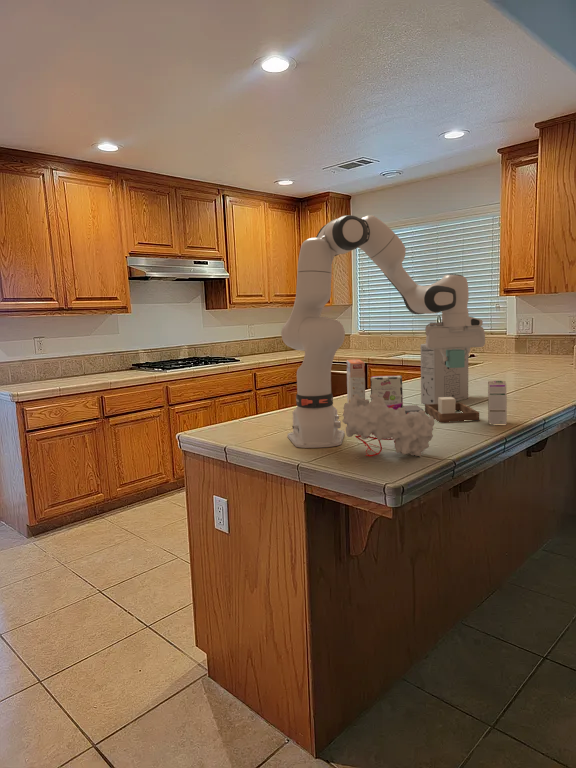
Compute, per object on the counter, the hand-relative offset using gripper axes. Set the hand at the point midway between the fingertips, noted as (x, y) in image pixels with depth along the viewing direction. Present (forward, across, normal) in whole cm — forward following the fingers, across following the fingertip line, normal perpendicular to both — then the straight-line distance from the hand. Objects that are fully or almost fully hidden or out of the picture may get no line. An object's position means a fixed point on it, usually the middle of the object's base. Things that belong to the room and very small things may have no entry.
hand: (455, 360), depth 185 cm
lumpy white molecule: (+21, -33, -41) cm, 57 cm away
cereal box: (+21, +7, +35) cm, 42 cm away
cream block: (+21, 0, +10) cm, 23 cm away
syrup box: (+21, +11, -10) cm, 26 cm away
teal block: (+2, 0, 0) cm, 2 cm away
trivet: (+21, -14, +14) cm, 29 cm away
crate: (+21, 0, +5) cm, 22 cm away
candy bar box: (+21, -24, +2) cm, 32 cm away
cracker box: (+21, -33, +18) cm, 43 cm away
